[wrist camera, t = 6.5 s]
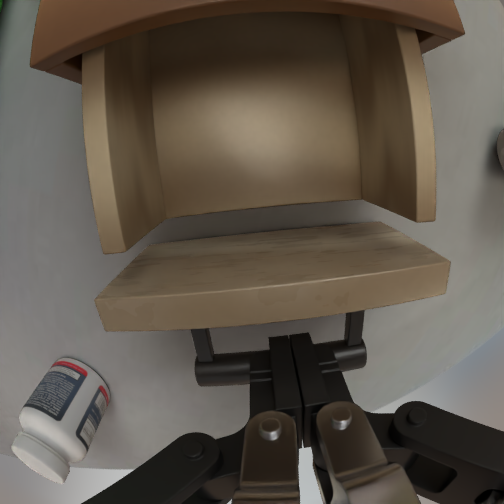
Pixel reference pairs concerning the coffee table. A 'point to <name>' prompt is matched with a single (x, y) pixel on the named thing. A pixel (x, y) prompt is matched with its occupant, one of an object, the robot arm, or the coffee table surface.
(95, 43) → the wooden mini dresser
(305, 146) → the dresser drawer
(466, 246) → the coffee table surface
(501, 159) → the hand grenade
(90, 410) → the pill bottle
